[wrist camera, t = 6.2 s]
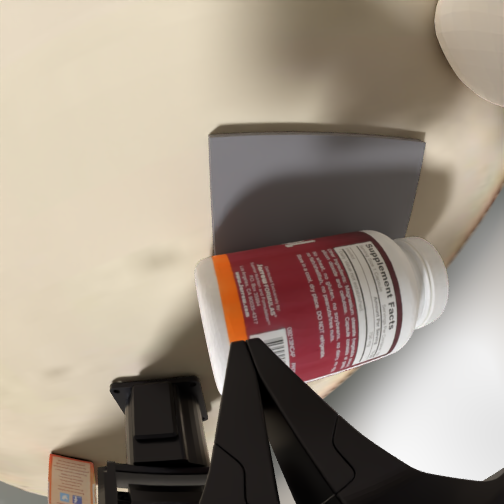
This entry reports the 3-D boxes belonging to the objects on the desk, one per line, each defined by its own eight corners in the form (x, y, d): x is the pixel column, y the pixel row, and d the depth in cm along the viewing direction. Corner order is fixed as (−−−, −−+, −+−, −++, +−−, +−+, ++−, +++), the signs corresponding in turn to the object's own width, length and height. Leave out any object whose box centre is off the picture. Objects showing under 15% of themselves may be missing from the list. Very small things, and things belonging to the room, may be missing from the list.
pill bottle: (199, 293, 17) (375, 259, 19) (222, 405, 14) (410, 350, 16) (186, 228, 12) (421, 197, 13) (217, 397, 9) (478, 311, 10)
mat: (383, 286, 20) (387, 292, 19) (218, 316, 17) (220, 323, 17) (418, 139, 14) (425, 142, 14) (208, 134, 12) (210, 137, 12)
